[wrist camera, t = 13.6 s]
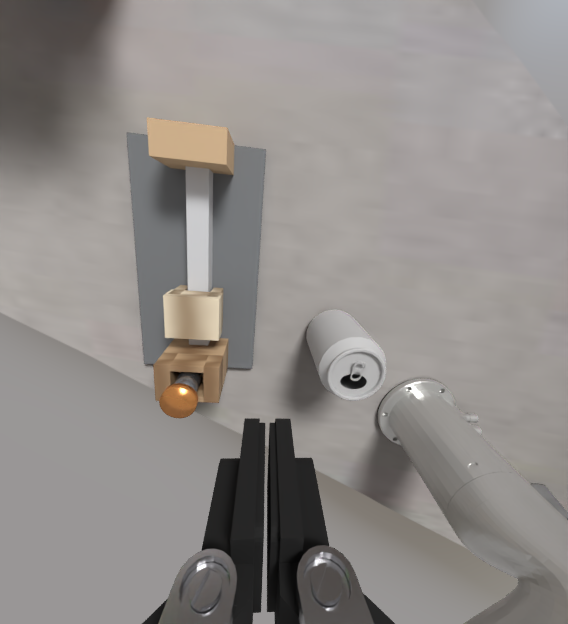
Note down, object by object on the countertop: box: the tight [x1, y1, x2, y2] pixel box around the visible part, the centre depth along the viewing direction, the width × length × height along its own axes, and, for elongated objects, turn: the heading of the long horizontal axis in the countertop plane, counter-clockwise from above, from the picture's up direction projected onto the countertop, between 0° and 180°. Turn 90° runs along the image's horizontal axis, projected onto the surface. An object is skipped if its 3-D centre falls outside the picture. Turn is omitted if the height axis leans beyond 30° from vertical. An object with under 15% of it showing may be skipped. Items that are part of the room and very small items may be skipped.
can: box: [306, 310, 386, 401], centre depth 34 cm, size 8×8×12 cm
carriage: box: [163, 285, 223, 341], centre depth 33 cm, size 6×5×5 cm
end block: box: [153, 338, 229, 403], centre depth 34 cm, size 7×4×8 cm, turn 85°
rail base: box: [127, 118, 266, 369], centre depth 32 cm, size 15×28×7 cm, turn 175°
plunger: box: [159, 372, 203, 418], centre depth 30 cm, size 4×4×6 cm
